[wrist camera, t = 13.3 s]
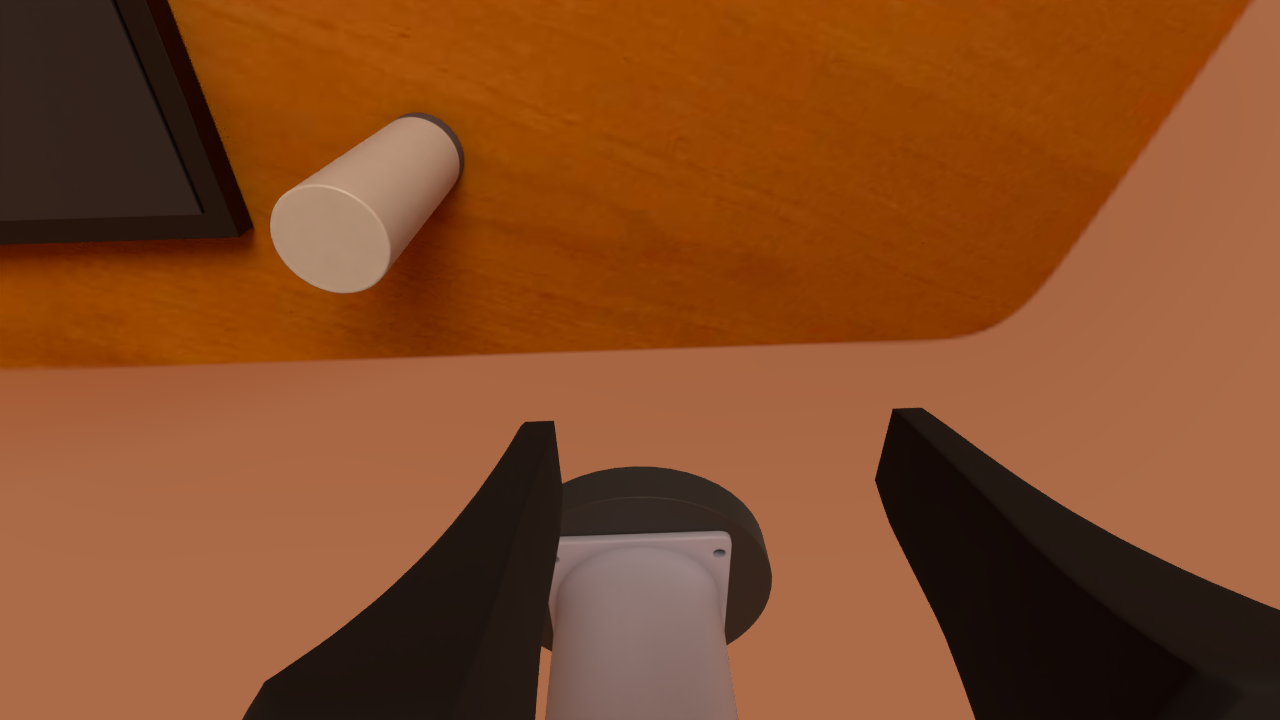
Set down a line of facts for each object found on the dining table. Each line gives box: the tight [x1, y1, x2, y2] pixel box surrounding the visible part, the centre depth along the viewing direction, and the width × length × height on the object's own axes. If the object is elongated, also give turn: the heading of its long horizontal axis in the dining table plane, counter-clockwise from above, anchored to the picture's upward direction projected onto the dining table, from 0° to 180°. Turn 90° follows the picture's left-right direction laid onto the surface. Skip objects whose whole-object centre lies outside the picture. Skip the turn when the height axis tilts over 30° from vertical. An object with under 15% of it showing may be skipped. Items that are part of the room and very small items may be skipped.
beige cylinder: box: [270, 113, 464, 293], centre depth 16 cm, size 2×2×7 cm
